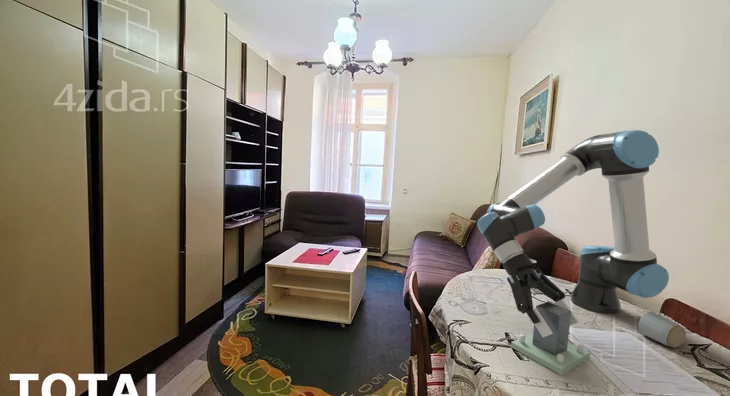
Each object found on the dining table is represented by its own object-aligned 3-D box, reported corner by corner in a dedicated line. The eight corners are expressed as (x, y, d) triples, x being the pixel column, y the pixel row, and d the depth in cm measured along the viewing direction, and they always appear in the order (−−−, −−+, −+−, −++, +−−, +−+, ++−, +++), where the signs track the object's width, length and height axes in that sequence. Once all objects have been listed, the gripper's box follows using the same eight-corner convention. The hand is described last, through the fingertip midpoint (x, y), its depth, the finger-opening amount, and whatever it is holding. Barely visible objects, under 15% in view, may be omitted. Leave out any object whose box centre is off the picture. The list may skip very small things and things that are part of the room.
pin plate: (540, 334, 91) (541, 323, 91) (589, 357, 80) (591, 345, 80) (510, 347, 83) (512, 335, 83) (561, 375, 72) (562, 361, 72)
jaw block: (544, 338, 86) (548, 301, 85) (567, 350, 80) (571, 310, 80) (532, 344, 82) (536, 305, 82) (555, 356, 77) (559, 315, 76)
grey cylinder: (668, 350, 85) (672, 324, 85) (636, 335, 93) (639, 311, 93) (693, 347, 88) (697, 322, 87) (660, 333, 96) (664, 310, 95)
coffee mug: (517, 283, 135) (519, 261, 135) (511, 277, 144) (513, 256, 143) (544, 286, 134) (547, 264, 133) (537, 279, 142) (539, 259, 141)
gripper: (527, 260, 99) (572, 324, 88) (478, 269, 87) (523, 345, 75) (545, 248, 95) (595, 314, 83) (496, 256, 82) (547, 336, 70)
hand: (561, 329), depth 79 cm, fingers open, 13 cm apart
